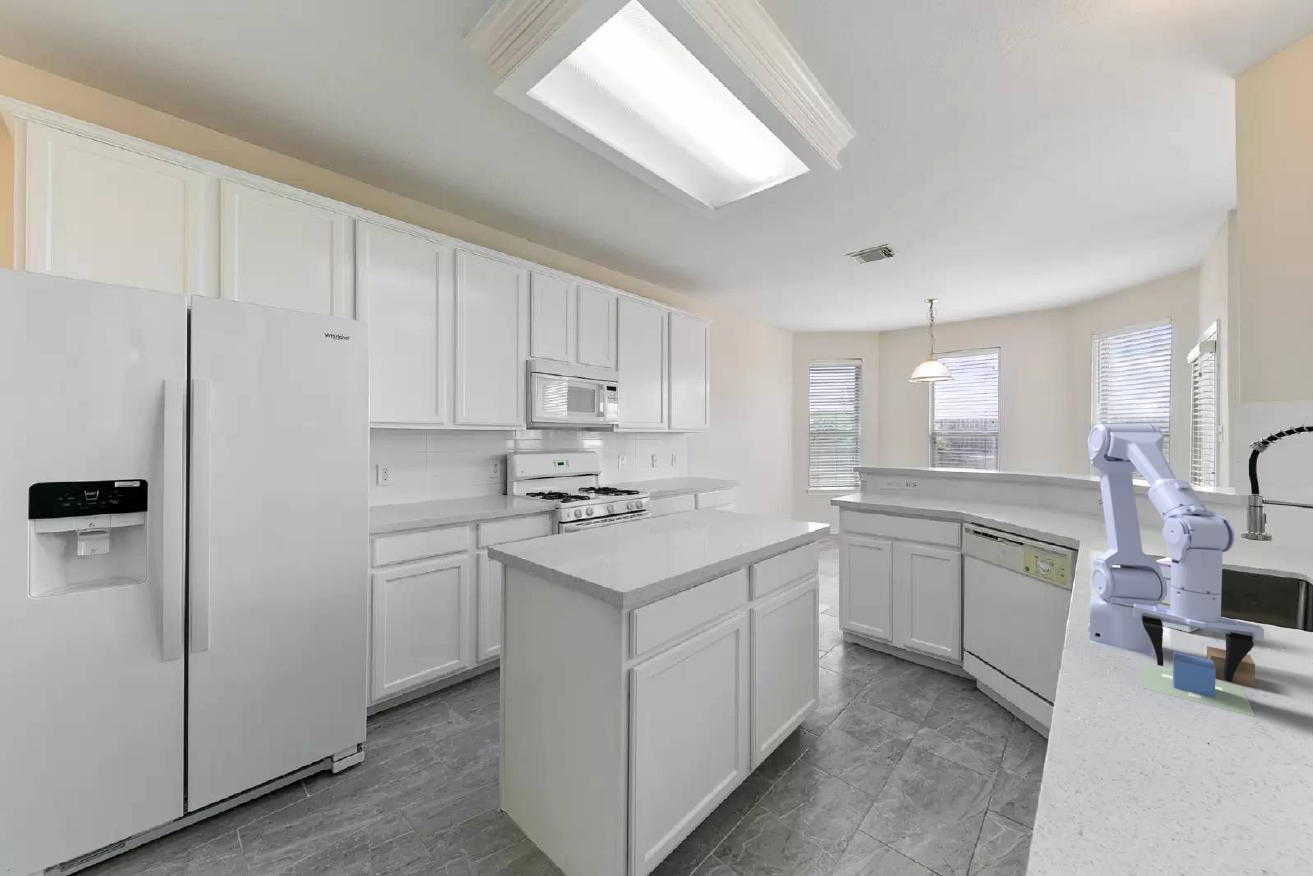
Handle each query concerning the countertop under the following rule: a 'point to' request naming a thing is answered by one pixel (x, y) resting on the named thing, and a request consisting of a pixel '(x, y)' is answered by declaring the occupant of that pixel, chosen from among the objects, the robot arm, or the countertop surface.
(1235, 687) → the board
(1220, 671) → the walnut block
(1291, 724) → the countertop surface
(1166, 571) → the syrup box
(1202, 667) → the blue cube
